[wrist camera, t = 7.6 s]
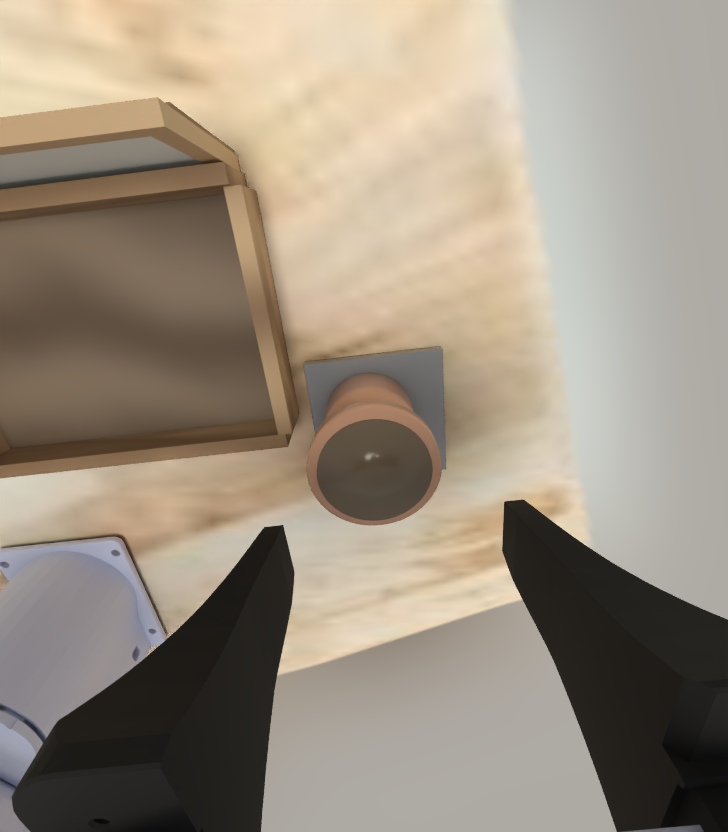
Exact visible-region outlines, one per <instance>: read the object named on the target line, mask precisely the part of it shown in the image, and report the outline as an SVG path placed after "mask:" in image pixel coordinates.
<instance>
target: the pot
mask: <svg viewBox="0 0 728 832" xmlns="http://www.w3.org/2000/svg"><path fill="white" fill-rule="evenodd" d="M441 470H442V461H441V455H440V451H439V448H438V446H437V443H436V441H435V438H434V436H433V434H432V432H431V430H430V428H429V427H428V425H427V424H426V423H425V422H424V421H423V420H422V419H421V418H420V417H419V416H418V415H417V414H416V413H415V412H414V409H413V406H412V404H411V401H410V398H409V396H408V394H407V392H406V391H405V389H404V388H403V387H402V386H401V385H400V384H399V383H398V382H396V381H395V380H394V379H392V378H390V377H388V376H385V375H382V374H378V373H361V374H357V375H354V376H351V377H349V378H347V379H345V380H344V381H342V382H341V383H340V384H339V385H338V386H337V387H336V388H335V389H334V390H333V391H332V393H331V395H330V397H329V399H328V402H327V405H326V411H325V418H324V422H323V423H322V425H321V426H320V427H319V428H318V430H317V432H316V433H315V435H314V437H313V440H312V443H311V446H310V451H309V456H308V461H307V476H308V481H309V485H310V487H311V490H312V492H313V494H314V495H315V497H316V498H317V500H318V501H319V502H320V503H321V504H322V505H323V507H324V508H326V509H327V510H328V511H329V512H331V513H332V514H334V515H335V516H337V517H339V518H341V519H343V520H346V521H349V522H352V523H356V524H362V525H383V524H389V523H393V522H396V521H399V520H402V519H404V518H406V517H408V516H410V515H412V514H413V513H415V512H416V511H418V510H419V509H420V508H422V507H423V506H424V505H425V504H426V503H427V502H428V500H429V499H430V498H431V497H432V495H433V493H434V492H435V490H436V488H437V486H438V483H439V480H440V477H441Z"/></svg>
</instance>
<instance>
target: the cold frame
mask: <svg viewBox="0 0 728 832" xmlns="http://www.w3.org/2000/svg"><path fill="white" fill-rule="evenodd" d="M166 104H167V105H168V106H170V107H171V108H173V109H174V110H175V111H177V112H178V113H179V114H181V115H182V116H184V117H185V118H186V119H188V120H189V121H190V122H192V123H193V124H195V125H196V126H197V127H199V128H200V129H201V130H203V131H204V132H206V133H207V134H208V135H210V136H211V137H212V138H214V139H215V140H217V141H218V142H219V143H221V144H222V145H223V146H225V147H226V148H228V149H229V150H230V151H232V152H233V153H234V150H233V149H231V148H230V147H229V146H227V145H226V144H225V143H223V142H222V141H221V140H219V139H218V138H217V137H215V136H214V135H213V134H211V133H210V132H209V131H207V130H206V129H205V128H203V127H202V126H201V125H199V124H198V123H197V122H195V121H194V120H193V119H191V118H190V117H189V116H187V115H186V114H185V113H183V112H182V111H181V110H179V109H178V108H177V107H175V106H174V105H173V104H171V103H170V102H166ZM298 414H299V411H298V406H297V401H296V396H295V391H294V386H293V380H292V375H291V370H290V365H289V360H288V354H287V349H286V344H285V339H284V334H283V329H282V323H281V318H280V313H279V308H278V303H277V297H276V292H275V287H274V282H273V277H272V272H271V266H270V261H269V256H268V251H267V246H266V240H265V235H264V230H263V225H262V220H261V214H260V209H259V204H258V199H257V194H256V191H254V190H252V189H250V188H248V187H247V184H246V179H245V174H243V173H242V172H240V171H238V170H237V169H235V168H233V167H232V166H230V165H228V164H227V163H225V162H217V163H209V164H201V165H193V166H185V167H177V168H169V169H161V170H153V171H145V172H137V173H129V174H121V175H113V176H105V177H97V178H89V179H81V180H73V181H65V182H57V183H49V184H41V185H33V186H25V187H17V188H9V189H1V190H0V478H7V477H16V476H25V475H35V474H44V473H53V472H62V471H71V470H80V469H89V468H98V467H108V466H117V465H126V464H135V463H144V462H153V461H162V460H171V459H181V458H190V457H199V456H208V455H217V454H226V453H235V452H244V451H254V450H263V449H272V448H281V447H288V445H289V442H290V439H291V435H292V433H293V430H294V427H295V423H296V420H297V417H298Z"/></svg>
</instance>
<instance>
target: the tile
mask: <svg viewBox="0 0 728 832" xmlns="http://www.w3.org/2000/svg"><path fill="white" fill-rule="evenodd" d="M303 366H304V372H305V378H306V383H307V389H308V394H309V400H310V406H311V411H312V417H313V422H314V428H315V433H316V432H317V430H318V428H319V427H320V426H321V425H322V423H323V422H324V418H325V411H326V405H327V402H328V399H329V397H330V395H331V393H332V391H333V390H334V389H335V388H336V387H337V386H338V385H339V384H340V383H341V382H342V381H344V380H345V379H347V378H349V377H351V376H354V375H357V374H361V373H378V374H382V375H385V376H388V377H390V378H392V379H394V380H395V381H396V382H398V383H399V384H400V385H401V386H402V387H403V388H404V389H405V391H406V392H407V394H408V396H409V398H410V401H411V404H412V406H413V409H414V412H415V413H416V414H417V415H418V416H419V417H420V418H421V419H422V420H423V421H424V422H425V423H426V424H427V425H428V427H429V428H430V430H431V432H432V434H433V436H434V438H435V441H436V443H437V446H438V448H439V451H440V455H441V461H442V469H446V455H445V421H444V386H443V352H442V348H441V347H440V346H439V347H430V348H421V349H412V350H404V351H395V352H386V353H377V354H368V355H360V356H351V357H342V358H333V359H325V360H316V361H307V362H304V365H303Z"/></svg>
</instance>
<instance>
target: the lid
mask: <svg viewBox="0 0 728 832" xmlns="http://www.w3.org/2000/svg"><path fill="white" fill-rule="evenodd" d="M217 162H225V163H227V164H228V165H230V166H232V167H233V168H235V169H237V170H238V171H240V167H239V162H238V157H237V155H236V154H234V153H233V152H232V151H230V150H229V149H228V148H226V147H225V146H223V145H222V144H221V143H219V142H218V141H217V140H215V139H214V138H212V137H211V136H210V135H208V134H207V133H206V132H204V131H203V130H201V129H200V128H199V127H197V126H196V125H195V124H193V123H192V122H190V121H189V120H188V119H186V118H185V117H184V116H182V115H181V114H179V113H178V112H177V111H175V110H174V109H173V108H171V107H170V106H168V105H167V104H166V103H164V102H163V101H162V100H160V99H159V98H149V99H141V100H133V101H125V102H118V103H110V104H102V105H94V106H87V107H79V108H71V109H63V110H56V111H48V112H40V113H32V114H24V115H17V116H9V117H1V118H0V190H1V189H9V188H17V187H25V186H33V185H41V184H49V183H57V182H65V181H73V180H81V179H89V178H97V177H105V176H113V175H121V174H129V173H137V172H145V171H153V170H161V169H169V168H177V167H185V166H193V165H201V164H209V163H217Z"/></svg>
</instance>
